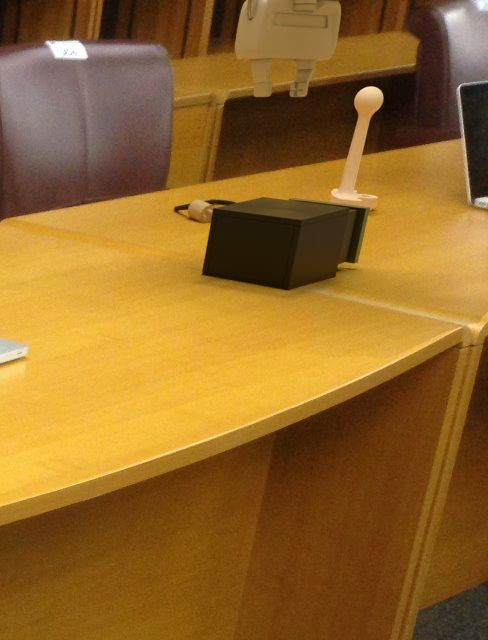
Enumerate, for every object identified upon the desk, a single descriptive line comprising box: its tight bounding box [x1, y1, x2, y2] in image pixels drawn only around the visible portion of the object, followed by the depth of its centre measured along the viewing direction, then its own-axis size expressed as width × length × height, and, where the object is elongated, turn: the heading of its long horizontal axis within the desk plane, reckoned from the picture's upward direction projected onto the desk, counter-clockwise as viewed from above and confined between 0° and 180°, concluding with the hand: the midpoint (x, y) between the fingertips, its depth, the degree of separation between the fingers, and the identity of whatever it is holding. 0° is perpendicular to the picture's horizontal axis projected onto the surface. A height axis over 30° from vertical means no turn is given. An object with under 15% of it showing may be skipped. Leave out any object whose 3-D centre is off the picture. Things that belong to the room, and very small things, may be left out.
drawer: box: [288, 197, 370, 265], centre depth 221 cm, size 18×11×8 cm, turn 132°
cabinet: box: [201, 196, 350, 291], centre depth 214 cm, size 15×13×10 cm
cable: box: [173, 198, 237, 223], centre depth 260 cm, size 16×16×4 cm
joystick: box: [328, 86, 384, 212], centre depth 263 cm, size 11×8×20 cm
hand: (280, 97), depth 205 cm, fingers open, 8 cm apart
